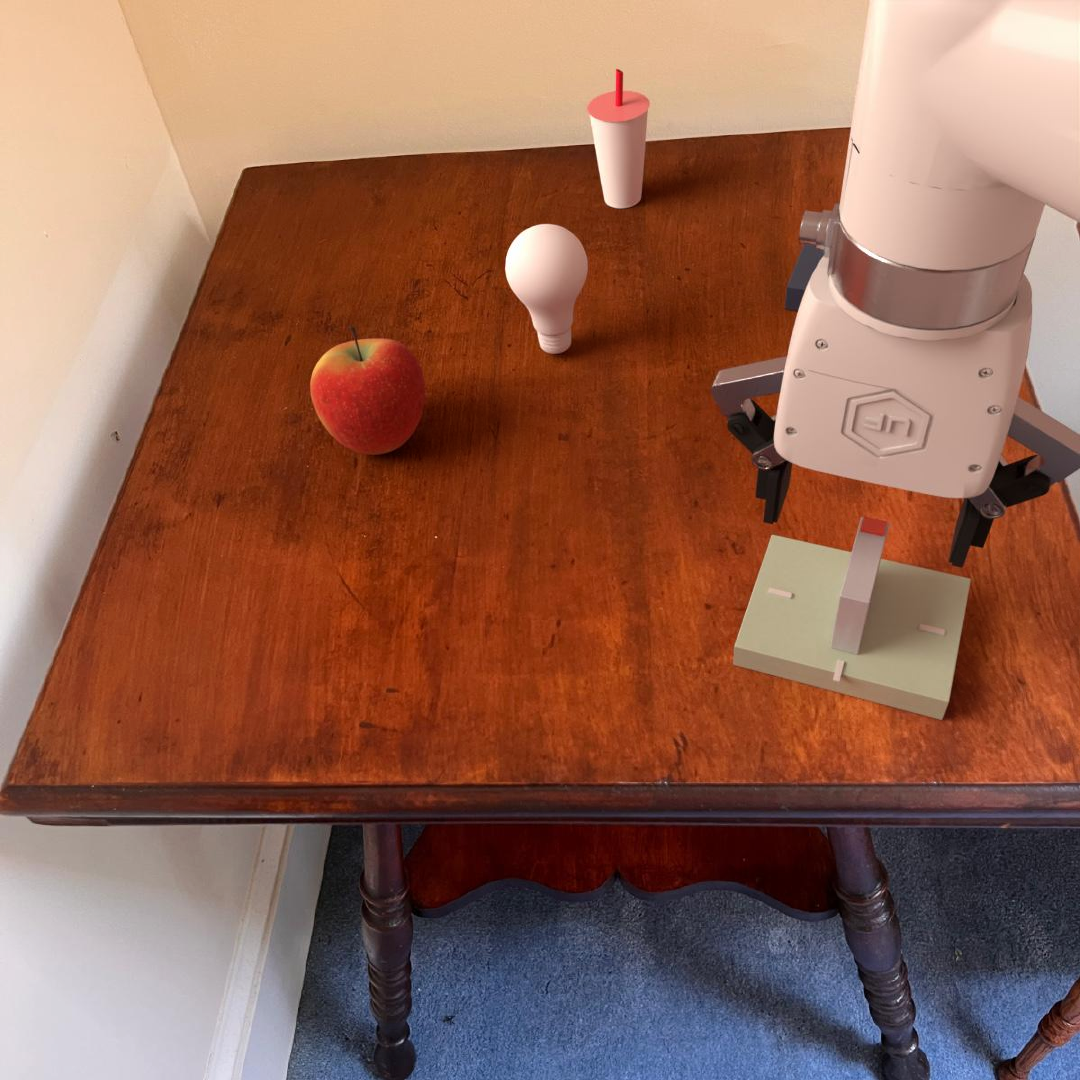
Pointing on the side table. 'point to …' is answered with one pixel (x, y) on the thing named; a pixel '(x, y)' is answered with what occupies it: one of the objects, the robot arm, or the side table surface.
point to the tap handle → (859, 585)
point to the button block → (802, 275)
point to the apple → (369, 394)
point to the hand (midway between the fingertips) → (865, 525)
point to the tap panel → (889, 636)
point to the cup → (620, 143)
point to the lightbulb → (548, 280)
